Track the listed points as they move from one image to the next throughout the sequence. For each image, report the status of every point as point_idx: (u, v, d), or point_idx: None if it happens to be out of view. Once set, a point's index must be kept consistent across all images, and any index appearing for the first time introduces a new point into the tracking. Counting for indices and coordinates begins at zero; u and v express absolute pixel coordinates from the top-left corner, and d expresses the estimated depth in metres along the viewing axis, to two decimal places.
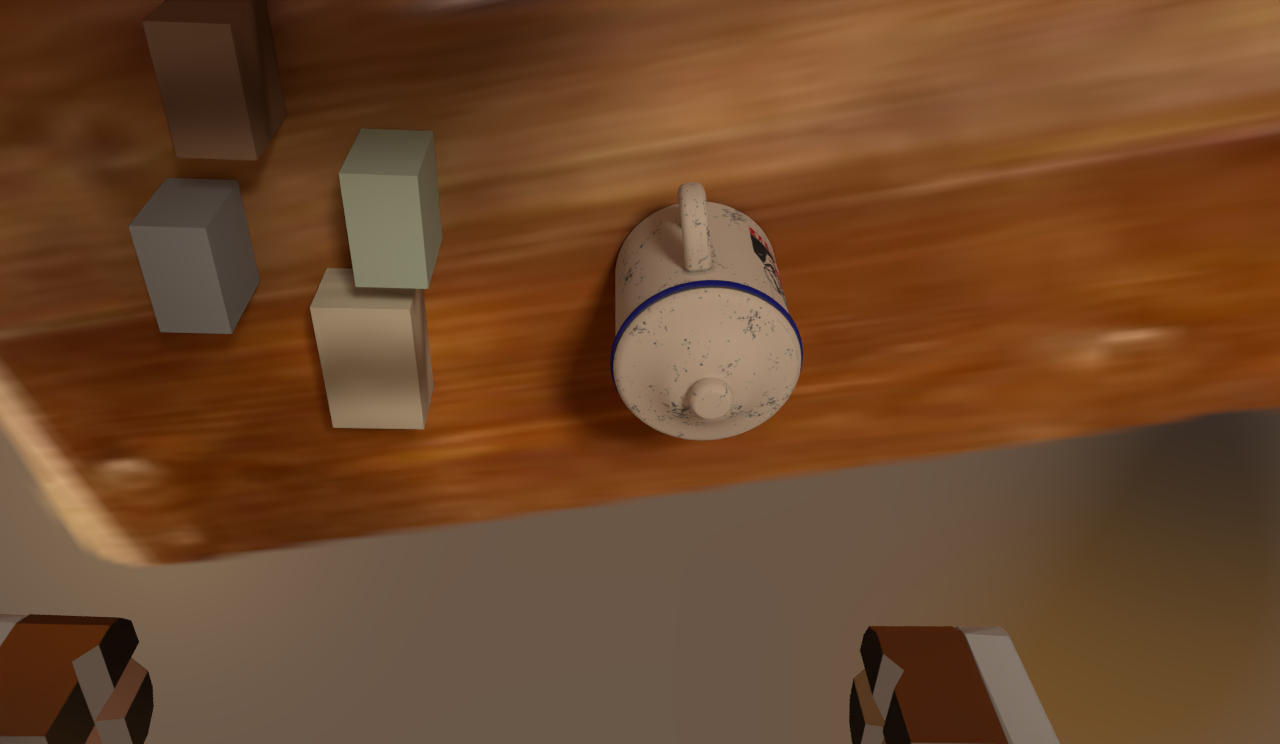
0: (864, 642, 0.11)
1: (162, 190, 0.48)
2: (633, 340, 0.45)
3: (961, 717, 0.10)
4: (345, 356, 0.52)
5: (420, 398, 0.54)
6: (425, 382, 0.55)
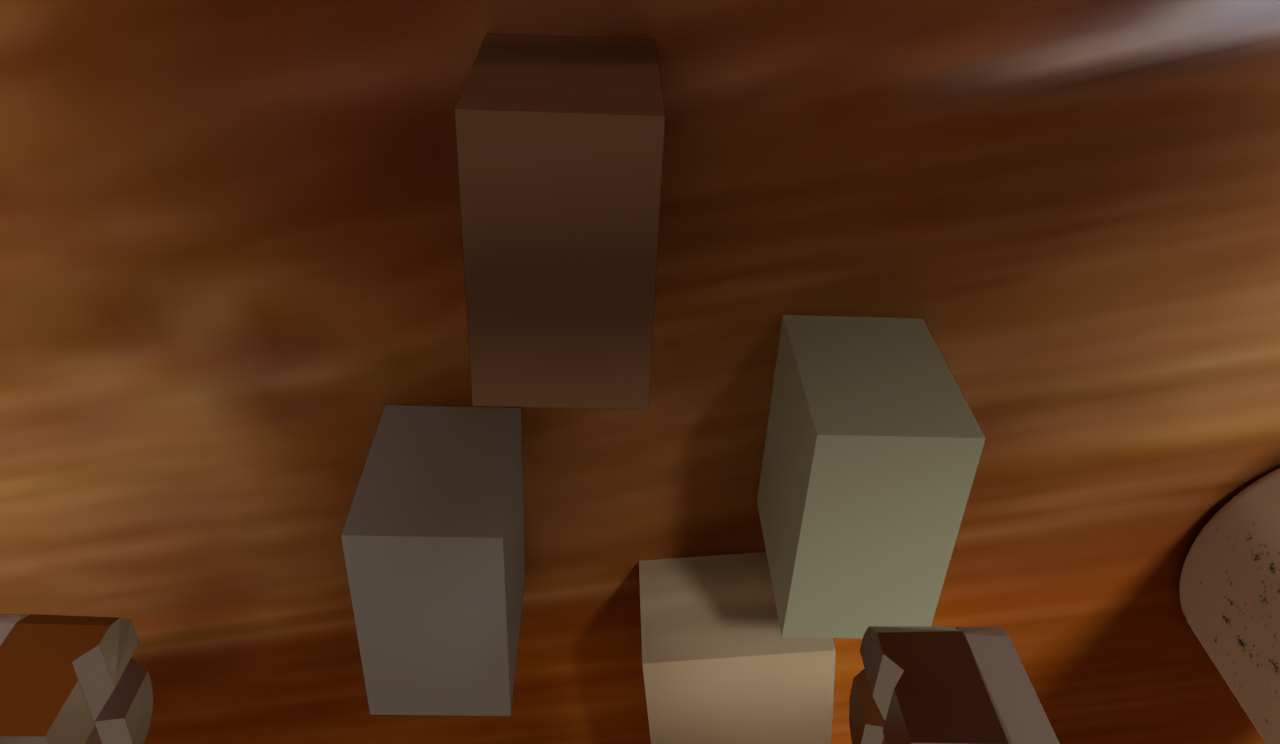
0: (864, 642, 0.11)
1: (385, 436, 0.24)
2: None
3: (961, 717, 0.10)
4: (698, 735, 0.27)
5: None
6: None
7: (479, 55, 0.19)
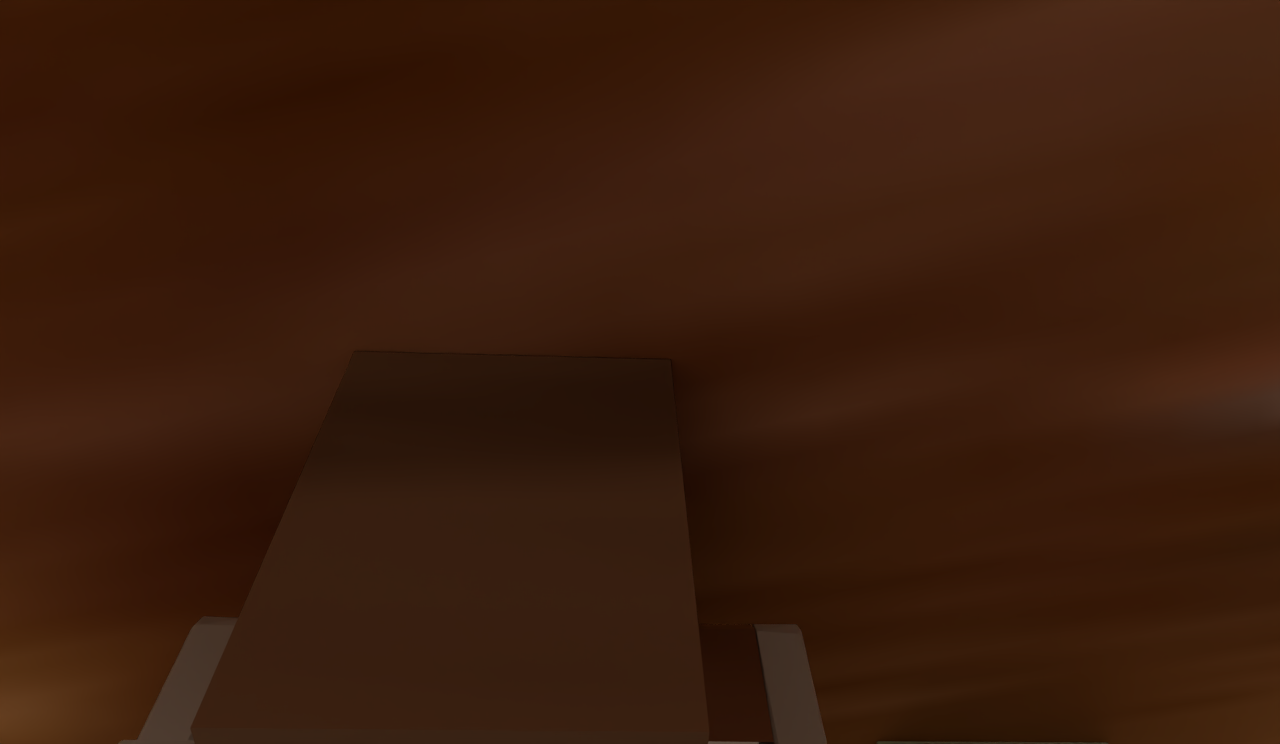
0: None
1: None
2: None
3: (732, 715, 0.10)
4: None
5: None
6: None
7: (318, 444, 0.09)
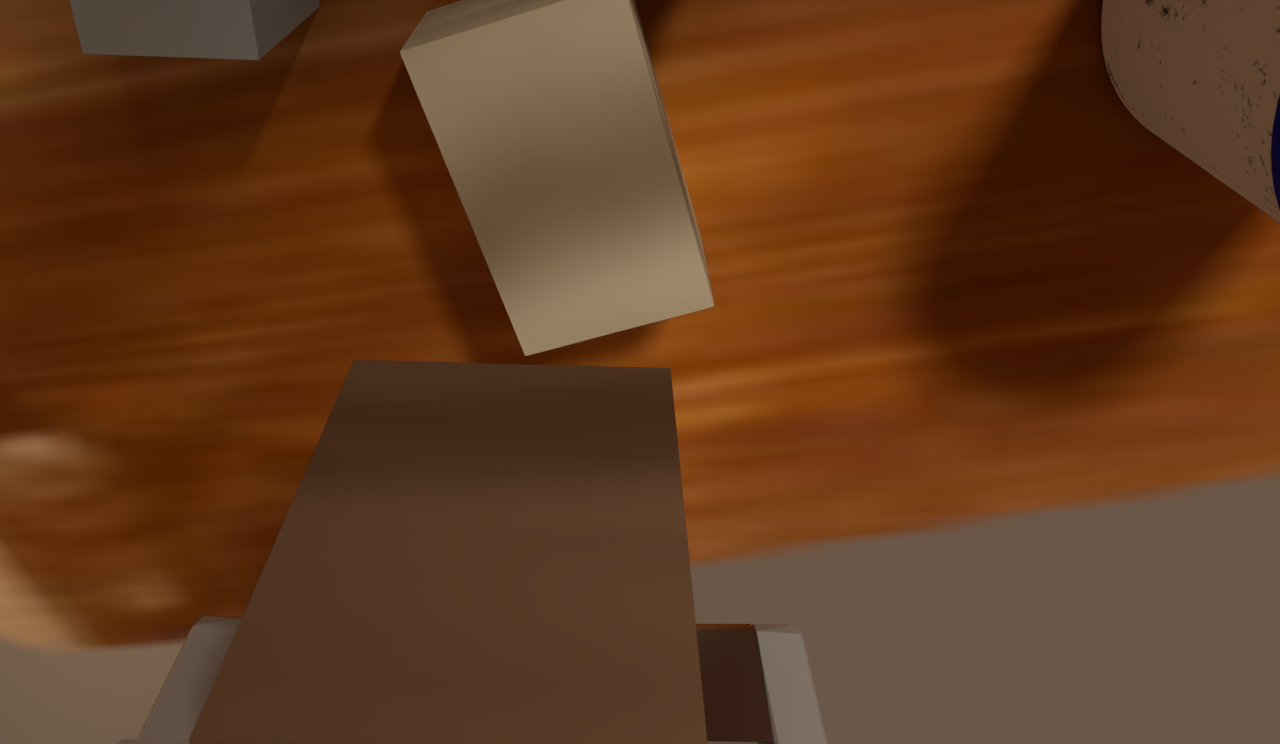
0: None
1: None
2: None
3: (732, 715, 0.10)
4: (507, 165, 0.23)
5: (692, 230, 0.24)
6: (689, 208, 0.25)
7: (317, 454, 0.09)
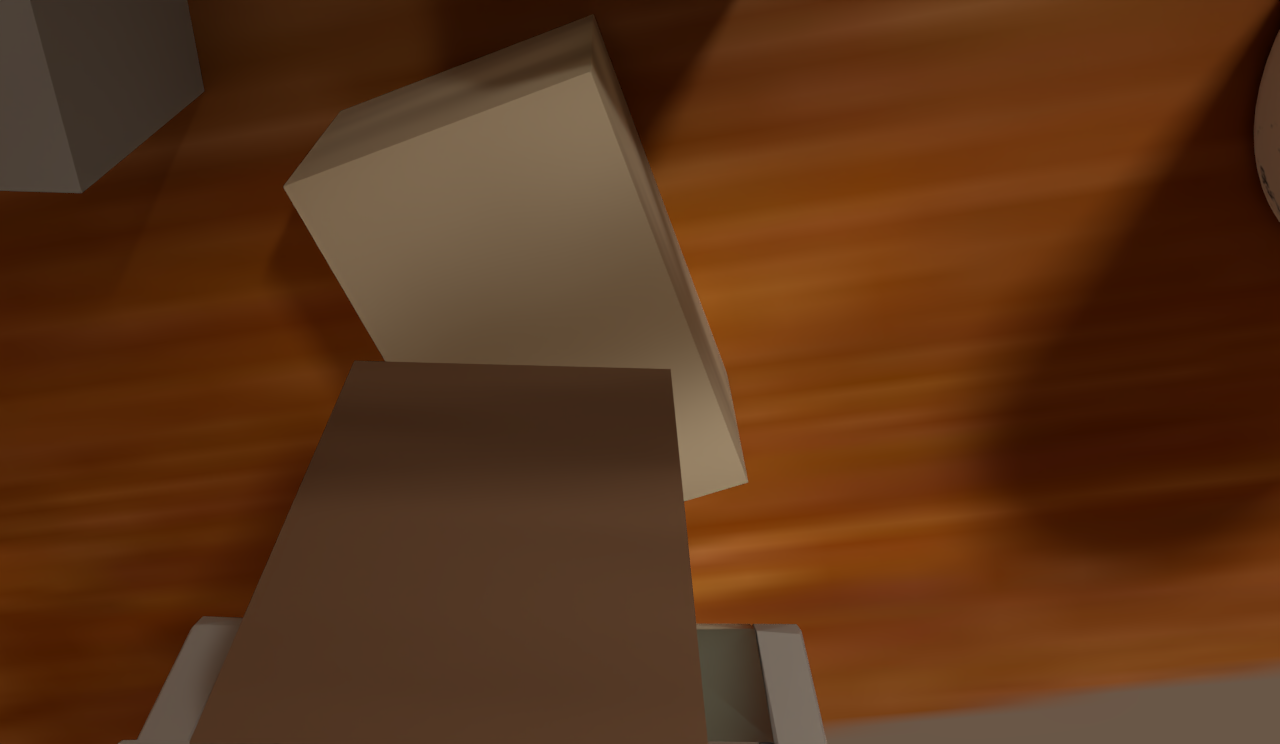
0: None
1: None
2: None
3: (732, 715, 0.10)
4: (451, 324, 0.16)
5: (712, 389, 0.17)
6: (707, 349, 0.19)
7: (317, 455, 0.09)
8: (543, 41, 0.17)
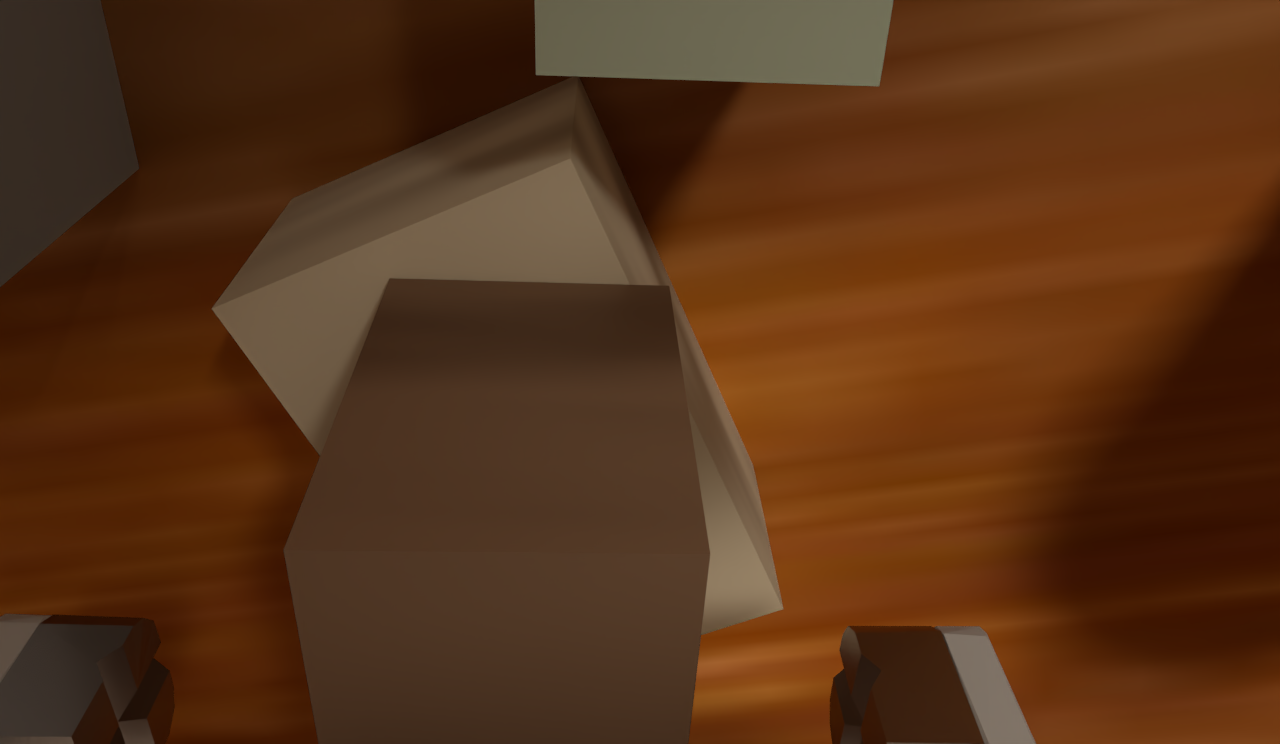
0: (843, 642, 0.11)
1: None
2: None
3: (937, 717, 0.10)
4: None
5: (736, 509, 0.15)
6: (729, 452, 0.16)
7: (365, 349, 0.11)
8: (520, 110, 0.14)
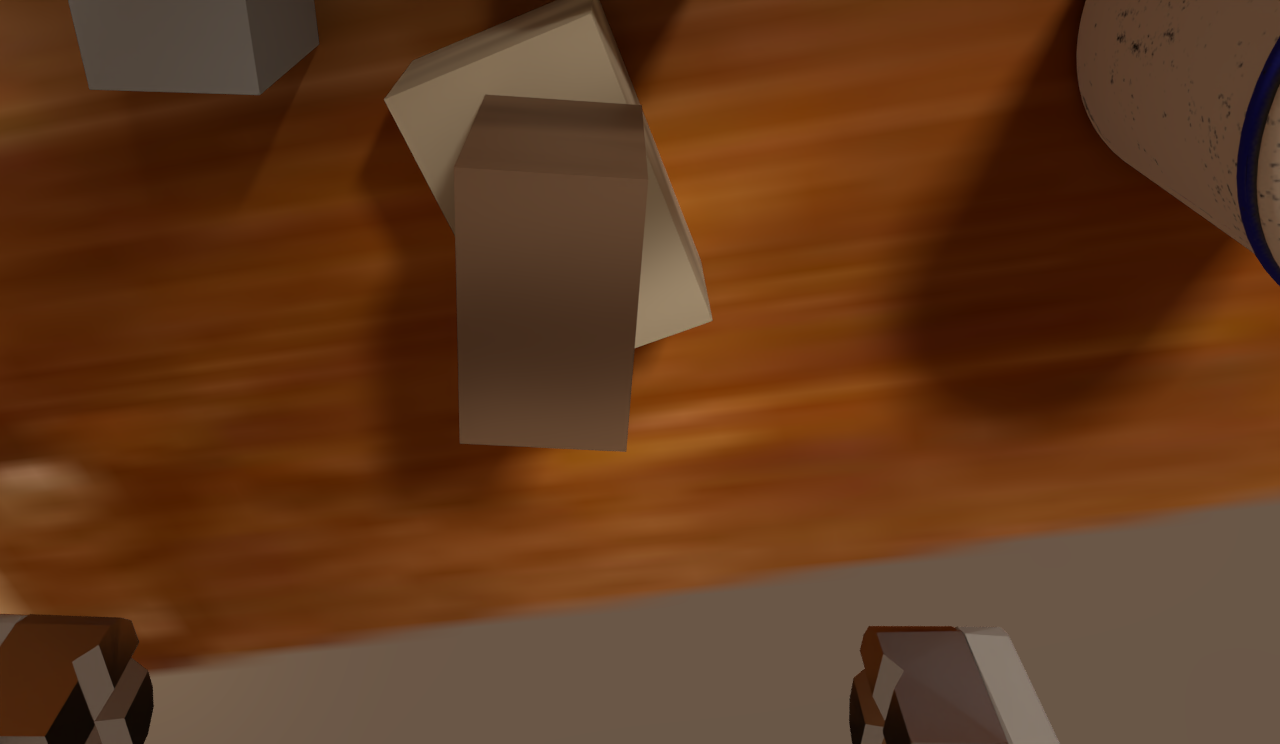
0: (864, 642, 0.11)
1: None
2: None
3: (961, 717, 0.10)
4: None
5: (683, 247, 0.24)
6: (681, 227, 0.26)
7: (477, 116, 0.20)
8: (558, 3, 0.24)
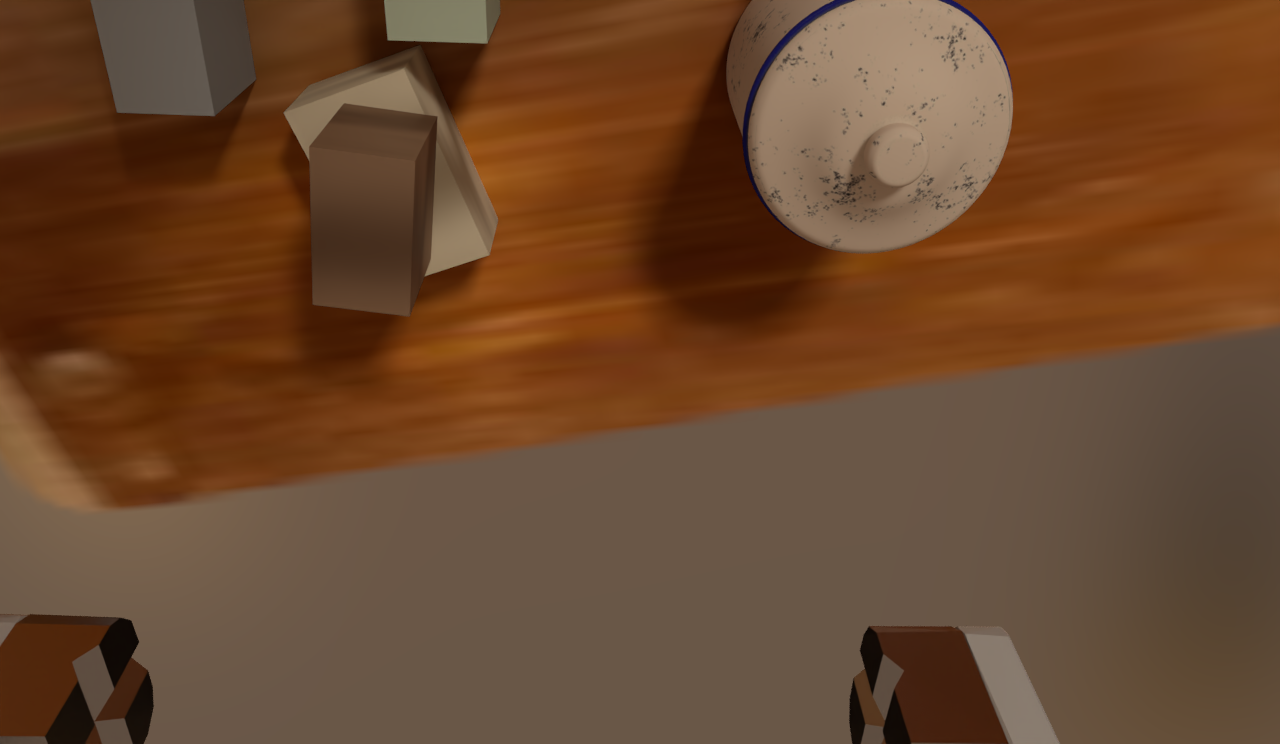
0: (864, 642, 0.11)
1: None
2: (782, 78, 0.32)
3: (961, 717, 0.10)
4: None
5: (468, 208, 0.40)
6: (474, 196, 0.41)
7: (333, 117, 0.36)
8: (397, 56, 0.39)
